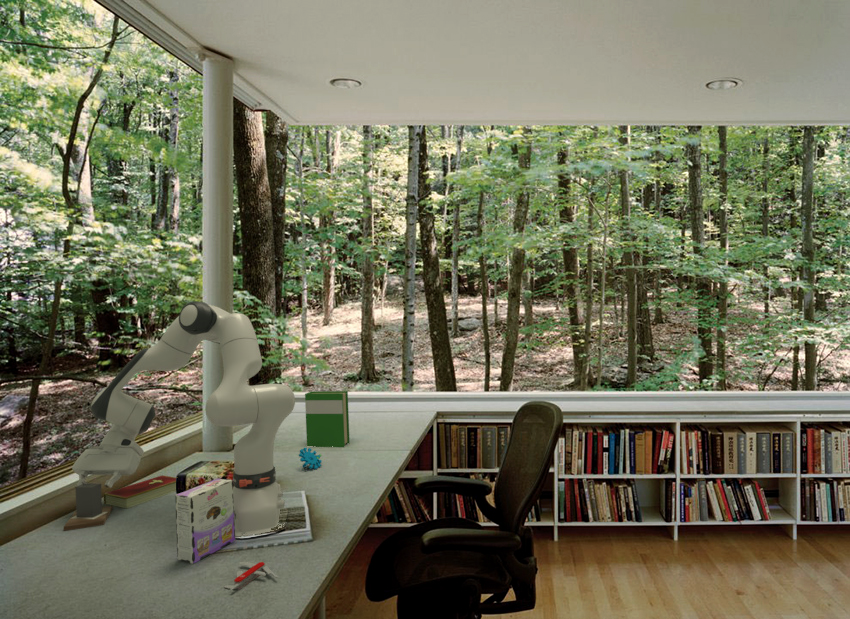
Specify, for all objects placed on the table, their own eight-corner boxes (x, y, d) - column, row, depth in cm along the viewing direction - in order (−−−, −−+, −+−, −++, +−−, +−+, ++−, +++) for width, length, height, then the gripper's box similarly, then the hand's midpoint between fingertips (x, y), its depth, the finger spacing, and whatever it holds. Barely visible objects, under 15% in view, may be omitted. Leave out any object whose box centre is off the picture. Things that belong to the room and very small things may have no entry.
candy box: (219, 538, 145) (217, 477, 145) (236, 541, 142) (233, 479, 142) (176, 560, 132) (173, 493, 132) (193, 564, 130) (190, 496, 130)
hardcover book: (103, 505, 176) (103, 492, 176) (162, 485, 194) (161, 474, 194) (126, 510, 170) (125, 497, 170) (183, 490, 188) (183, 478, 189)
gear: (308, 468, 201) (296, 447, 206) (299, 478, 203) (288, 457, 208) (328, 465, 211) (316, 444, 215) (320, 474, 212) (308, 454, 217)
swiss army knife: (255, 600, 113) (255, 590, 113) (204, 589, 118) (204, 580, 118) (288, 574, 123) (288, 565, 123) (240, 565, 128) (240, 557, 128)
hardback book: (349, 443, 246) (347, 391, 246) (344, 447, 239) (342, 393, 239) (313, 442, 249) (311, 391, 249) (306, 446, 242) (305, 393, 242)
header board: (103, 524, 157) (103, 510, 157) (63, 530, 154) (63, 516, 154) (112, 508, 170) (112, 496, 171) (76, 514, 167) (75, 501, 167)
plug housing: (102, 513, 164) (101, 483, 164) (93, 517, 160) (92, 487, 160) (85, 512, 164) (84, 483, 164) (76, 517, 161) (75, 487, 161)
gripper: (81, 441, 173) (57, 481, 164) (138, 441, 170) (117, 481, 160) (92, 451, 178) (69, 491, 168) (148, 451, 175) (128, 491, 165)
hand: (93, 486), depth 164 cm, fingers open, 8 cm apart
